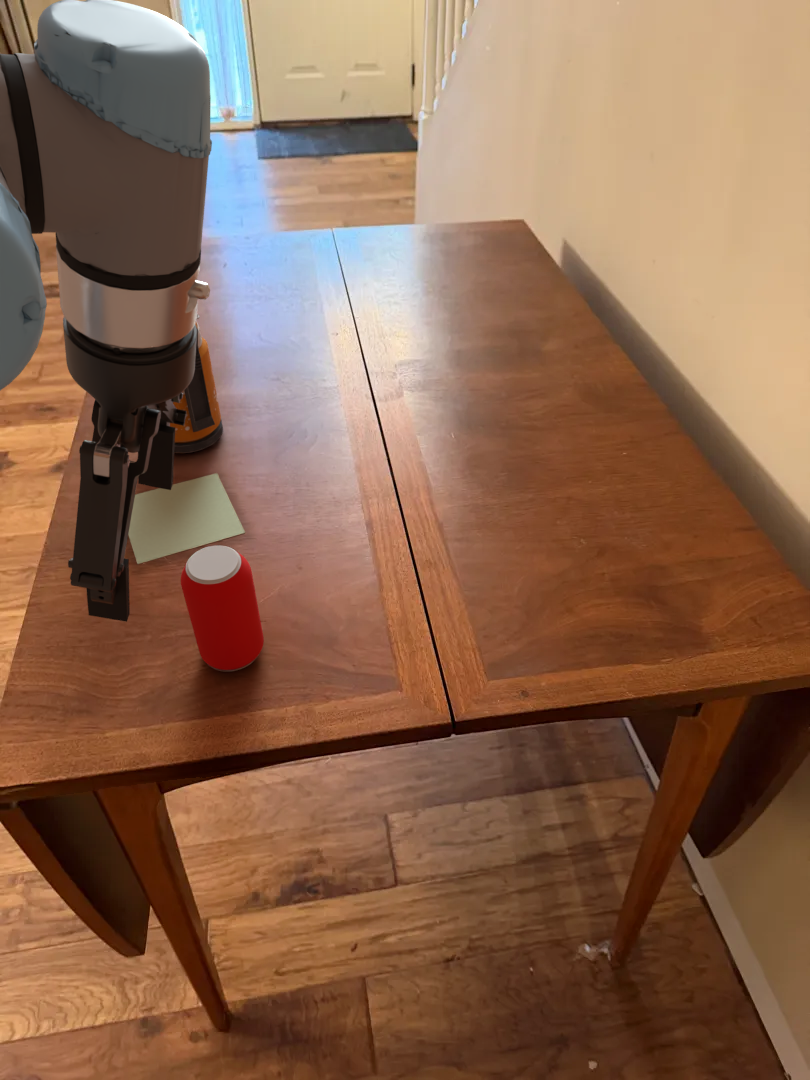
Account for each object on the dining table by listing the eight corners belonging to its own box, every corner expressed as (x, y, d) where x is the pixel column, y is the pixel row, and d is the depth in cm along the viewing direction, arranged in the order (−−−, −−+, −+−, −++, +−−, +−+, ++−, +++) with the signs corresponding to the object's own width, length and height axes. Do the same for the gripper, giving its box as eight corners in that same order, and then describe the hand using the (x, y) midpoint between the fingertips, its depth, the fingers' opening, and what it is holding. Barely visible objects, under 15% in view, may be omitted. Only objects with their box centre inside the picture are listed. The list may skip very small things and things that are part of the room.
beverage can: (195, 677, 73) (169, 588, 65) (207, 626, 77) (184, 537, 69) (260, 676, 73) (243, 588, 65) (268, 626, 77) (253, 537, 69)
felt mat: (137, 564, 84) (137, 564, 84) (117, 499, 92) (117, 499, 92) (245, 533, 88) (245, 532, 88) (216, 473, 96) (216, 473, 95)
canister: (202, 409, 106) (174, 267, 92) (245, 447, 99) (221, 300, 86) (141, 433, 101) (102, 287, 88) (181, 474, 95) (146, 324, 82)
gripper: (141, 477, 38) (141, 690, 54) (234, 230, 55) (213, 448, 70) (-21, 445, 37) (27, 673, 52) (124, 202, 53) (128, 430, 69)
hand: (134, 544), depth 61 cm, fingers open, 13 cm apart
